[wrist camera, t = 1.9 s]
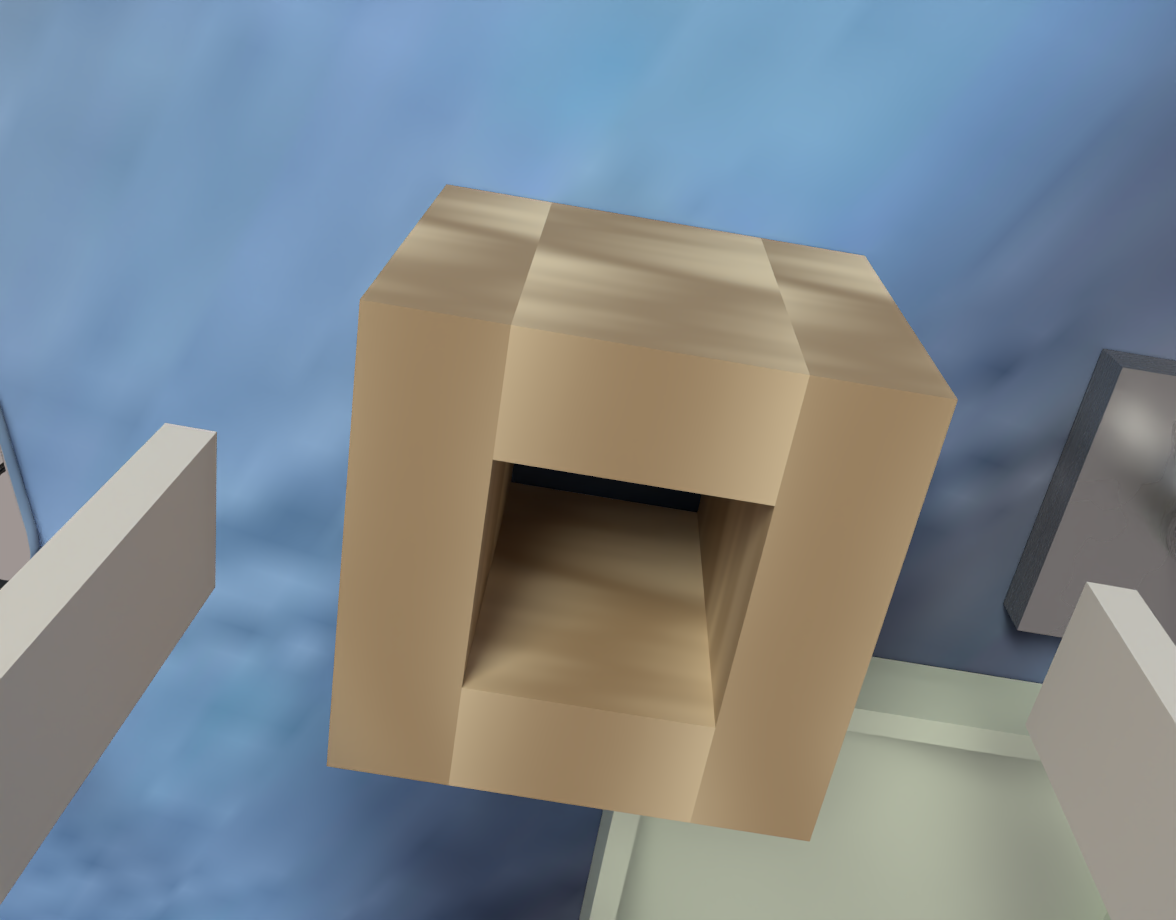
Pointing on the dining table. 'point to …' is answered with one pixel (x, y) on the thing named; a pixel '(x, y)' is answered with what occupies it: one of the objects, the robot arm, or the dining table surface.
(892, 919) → the tray
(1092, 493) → the gauge post
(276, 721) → the dining table surface
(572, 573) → the bored block
